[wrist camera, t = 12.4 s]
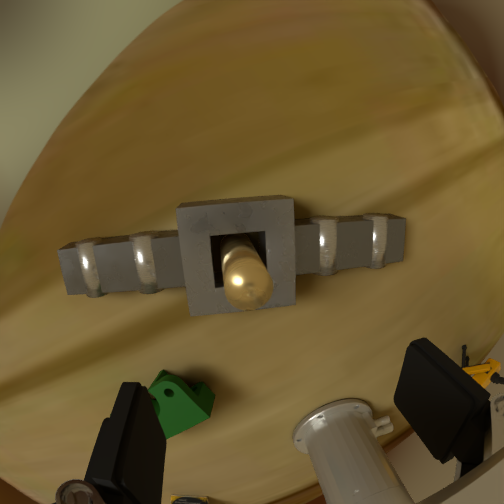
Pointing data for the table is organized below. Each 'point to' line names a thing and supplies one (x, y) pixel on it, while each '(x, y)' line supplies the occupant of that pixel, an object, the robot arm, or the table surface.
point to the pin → (244, 273)
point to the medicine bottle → (188, 499)
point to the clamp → (180, 403)
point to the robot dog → (482, 370)
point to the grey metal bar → (230, 222)
